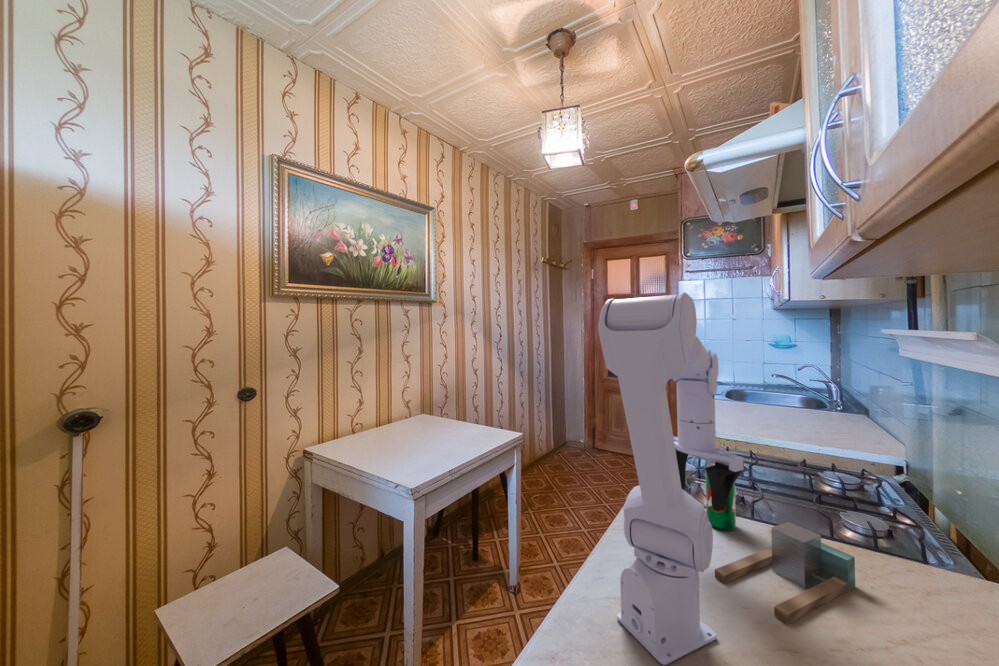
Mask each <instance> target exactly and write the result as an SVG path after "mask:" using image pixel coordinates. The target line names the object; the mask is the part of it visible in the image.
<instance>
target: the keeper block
mask: <svg viewBox="0 0 999 666" xmlns="http://www.w3.org/2000/svg"><path fill="white" fill-rule="evenodd" d="M770 529H771V547H772V563H771V566H772V569H771V571H772V572H773V573H775V574H777V575H779V576H780V577H782V578H784V579H786V580H788V581H790V582H792V583H793V584H795V585H797V586H798V587H800V588H803V589H804V590H807V589H809V588H811V587H813V586H815V585H817V584H819V583H821V581H822V582H823V578H822V559H821V543H822V534H819V533H816V532H813V531H812V530H809V529H806V528H804V527H801V526H799V525H796V523H795V524H794V523H792V522H790V521H786V522H784V523H781V524H778V526H777V525H775V527H774V526H772V527H771V528H770Z"/></svg>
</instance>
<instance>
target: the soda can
mask: <svg viewBox="0 0 999 666" xmlns="http://www.w3.org/2000/svg"><path fill="white" fill-rule="evenodd" d="M709 466H715V463H712V462H709V461H708V463H706V467H709ZM704 474H705V476H704V477H705V480H704V481H705V483H704V484H705V511H706V513H707V517H708V520H709V522H710V523H711V526H712V528H714V529H717V530H719V531H726V532H727V531H732V530H734V529H736V527H737V519H736V518H737V517H736V481H735V482H734V484H733V486H732V488H731V490H730V493H729V496H728V499H727V503H726V507H725V509H723V510H720V511H715V510H713V507H712V500H711V487H710V482H709V478H708V475H707V472H706V470H705V469H704Z"/></svg>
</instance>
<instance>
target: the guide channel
mask: <svg viewBox="0 0 999 666" xmlns="http://www.w3.org/2000/svg"><path fill="white" fill-rule="evenodd" d="M778 525H779V524H778ZM778 525H775V526H778ZM775 526H773V527H775ZM821 559H822V579H824V581H822V582H819V583H817V584H815V585H813V586H811V587H809V588H807V589H805V591H803V592H800V593H799V594H796V595H794V596H791V598H789V599H787V600H785V601H783V602H780V603H779V604H776V605H775V606H773V609H774V610H773V616H774V617H776V618H777V619H778V620H780V621H782V622H784V623H785V624H786V625H789V624H791V623H793V622H794V621H797V619H799V618H801V617H803V616H805V615H807V614H809V613H811V612H812V611H814V610H817V608H819V607H821V606H823V605H825V604H828V602H830V601H832V600H834V599H836V598H837V597H840V596H841V595H843V594H845V593H847V592H848V591H850V590H852V589H855V587H856V566H855V565H856V563H855V561H856V560H855V556H854V555H851V554H848V553H847V552H844V551H843V550H839V549H837V548H835V547H833V546H830V545H828V544H826V543H823V542H821ZM768 565H772V546H770V547H768V548H764V549H762V550H760V551H758V552H755V553H752V554H750V555H747V556H744V557H742V558H740V559H737V560H735V561H732V562H730V563H727V564H725V565H722V566H720V567H716V568H715V569H714V578H715V579H717V580H719V581H721V582H722V583H723V584H727V583H730V582H732V581H733V580H736V579H737V578H738V579H739V578H741V577H742V576H743V577H744V576H745V575H747V574H749V573H752V572H754V571H757V570H759V569H761V568H764V567H766V566H768Z"/></svg>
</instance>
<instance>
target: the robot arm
mask: <svg viewBox="0 0 999 666" xmlns="http://www.w3.org/2000/svg"><path fill="white" fill-rule="evenodd" d="M597 330H598V335H599V342H600V346H601V350H602V355H603V359H604V362H605V367H606V370H608V371H609V372H611V373H612V374H614V375H615V376H617V379H618V384H619V389H620V390H619V391H620V396H621V401H622V406H623V411H624V414H625V415H624V416H625V421H626V425H627V430H628V434H629V440H630V444H631V450H632V455H633V458H634V465H635V470H636V474H637V479H638V484H639V485H636V486H634V487H633V488H632V489H631V490H630V492H629V493H628V495H627V497H626V499H625V502H624V504H623V507H622V508H623V518H624V519H623V520H624V521H623V532H624V533H623V534H624V537H625V540H626V542H627V544H628V546H630V547H631V548H633V555H634V557H636V558H635V560H634V561H633V562H632V563H631V564H630V565H628V566H627V567H626V568H624V569H623V570H622V571H621V575H620V579H619V580H620V581H619V582H620V612H619V613H617V614H616V618H617V620H618V621H619V622H620V623H621V624H622V625H623V626H624V627H625V628H626V629H627V630H628V632H629V633H631V635H632V636H633V637H634V638H635V639H636V640H637V641H638V642H639V643H640V644H641V645H642V646H643V647H644V648H645V649H646V650H647V651H648V652H649V653H650V654H651V655H652V656H653V658H654V659H655V660H657V662H658V663H660V664H661V665H663V666H665V665H668V664H670V663H673V662H674V661H676V660H678V659H680V658H682V657H683V656H685V655H688V654H690V653H692V652H693V651H696V650H698V649H699V648H702V647H703V646H705V645H707V644H709V643H711V642H712V641H715V640H717V639H718V634H717V633H716V632H715V631H714V630H713V629H712V628H710V627H709V626H708V625H707V624H705V623H704V622H703V621H702V620H701V610H700V609H701V607H700V605H701V603H700V601H701V600H700V573H704V572H705V571H706V570H708V569H709V567H710V565H711V562H712V561H711V560H712V556H713V545H714V544H713V539H714V538H713V537H714V535H713V527H712V526H711V523H710V522H709V520H708V517H707V513H706V506H704V504H702V503H701V502H700V501H699V500H698V499H696V498H694V497H693V496H692V495H691V494H689V493H688V492H687V491H686V490H685V489H686V469H687V468H686V467H687V462H688V458H689V456H692V457H695V458H698V459H701V460H704V461H708V463H709V462H712V463H715V466H709V467H707V466H706V467H705V468H704V471H705V470H706V472H707V475H708V478H709V482H710V487H711V500H712V507H713V510H715V511H720V510H723V509H725V507H726V503H727V499H728V496H729V493H730V490H731V488H732V486H733V484H734V482H735V483H736V481H737V479H738V478H739V476H741V475H740V474H741V473H742V471H744V457H743V456H739V455H736V454H734V453H731V452H730V451H727V450H725V449H723V448H721V447H719V446H718V444H717V442H716V441H717V437H716V436H717V433H716V398H715V395H716V393H717V390H718V389H717V387H718V384H717V383H718V378H719V377H718V376H719V359H718V356H717V353H716V352H714V353H712V350H710V349H706V348H705V346H704V344H703V343H702V341H701V340H700V339H699V337H698V336H697V335H696V334H697V311H696V305H695V301H694V300H693V298H692V297H691V296H690V295H689V294H688V293H687V292H679V293H678V294H668V295H667V294H666V295H655V296H654V295H653V296H644V297H643V296H642V297H631V298H619V299H616V298H610V299H607V300H606V301H605V302H604V304H603V306H602V308H601V309H600V314H599V320H598V324H597ZM669 380H673V382H675V385H676V416H677V417H676V421H677V423H676V424H677V425H676V426H677V436H675V435H674V434H673V433H674V432H673V428H672V427H673V426H672V420H671V413H670V408H669V407H670V406H669V401H668V395H667V388H666V386H667V384H668V381H669Z"/></svg>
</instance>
